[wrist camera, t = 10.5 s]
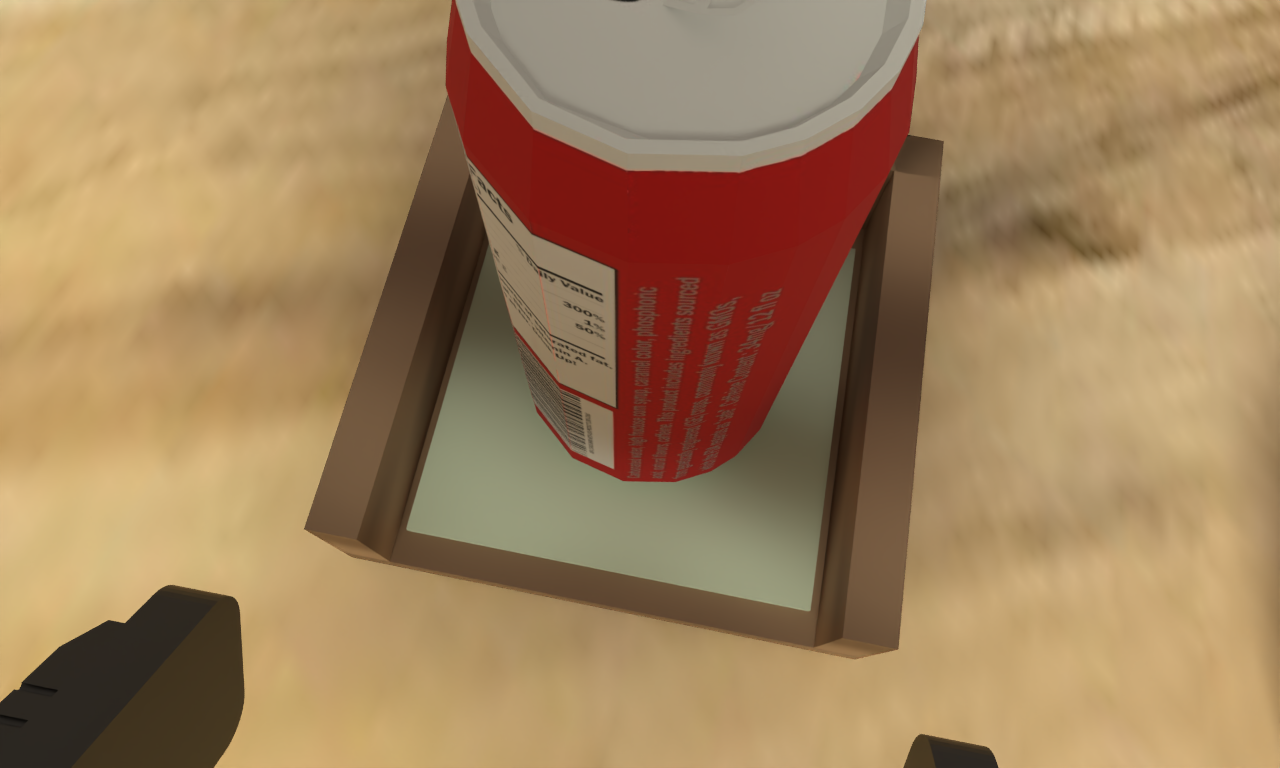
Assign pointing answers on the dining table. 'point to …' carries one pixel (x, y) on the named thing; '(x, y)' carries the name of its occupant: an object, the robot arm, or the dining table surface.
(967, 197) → the dining table surface
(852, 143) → the soda can
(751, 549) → the caddy
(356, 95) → the dining table surface
